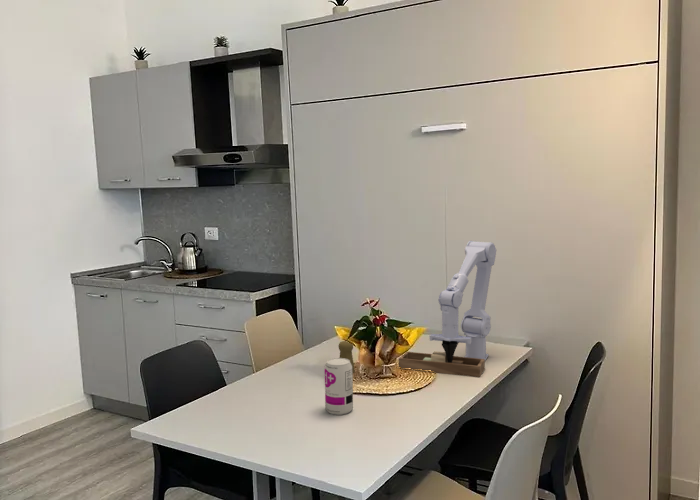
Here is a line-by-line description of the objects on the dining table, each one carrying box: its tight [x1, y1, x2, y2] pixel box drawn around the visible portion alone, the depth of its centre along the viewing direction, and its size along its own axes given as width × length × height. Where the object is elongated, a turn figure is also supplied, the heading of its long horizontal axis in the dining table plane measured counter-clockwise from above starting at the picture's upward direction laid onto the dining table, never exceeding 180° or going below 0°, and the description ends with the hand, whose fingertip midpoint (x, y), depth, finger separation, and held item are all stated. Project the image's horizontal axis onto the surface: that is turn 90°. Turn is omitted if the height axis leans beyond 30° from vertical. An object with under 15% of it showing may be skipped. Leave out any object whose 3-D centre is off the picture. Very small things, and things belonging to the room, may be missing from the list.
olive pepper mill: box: [338, 340, 356, 375], centre depth 221 cm, size 6×6×11 cm
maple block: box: [431, 351, 448, 363], centre depth 222 cm, size 5×5×3 cm
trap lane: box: [398, 351, 486, 378], centre depth 222 cm, size 9×29×4 cm, turn 67°
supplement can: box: [324, 357, 354, 416], centre depth 185 cm, size 8×8×15 cm
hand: (450, 361), depth 221 cm, fingers closed
